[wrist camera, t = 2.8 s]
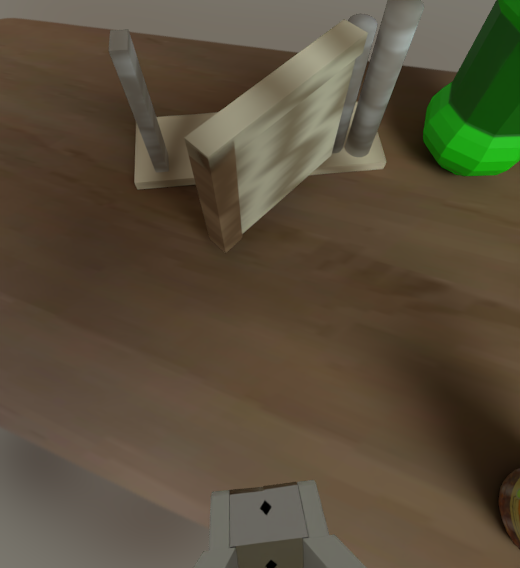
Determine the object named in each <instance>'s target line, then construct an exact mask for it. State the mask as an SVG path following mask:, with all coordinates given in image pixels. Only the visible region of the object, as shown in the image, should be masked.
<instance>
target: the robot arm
mask: <svg viewBox="0 0 520 568" xmlns="http://www.w3.org/2000/svg"><path fill="white" fill-rule="evenodd" d="M194 568H366V567H365V566H364V565H363V564H362V563H361V562H360V561H359V559H358V558H357V557H356V556H355V555H354V554H353V553H352V552H351V551H350V550H349V549H348V548H347V547H346V546H345V545H344V544H343V543H342V542H341V541H340V540H339V539H338V538H337V537H336V536H335V535H329V532H328V528H327V524H326V521H325V517H324V513H323V509H322V505H321V501H320V497H319V494H318V490H317V486H316V483H315V481H314V480H310V481H301V482H290V483H283V484H276V485H268V486H263V487H257V488H246V489H235V490H225V491H216V492H212V495H211V507H210V531H209V551H204V552H203V553H202V555H201V556H200V558H199V559H198V561H197V563H196V564H195V566H194Z"/></svg>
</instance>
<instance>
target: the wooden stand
mask: <svg viewBox="0 0 520 568" xmlns="http://www.w3.org/2000/svg"><path fill="white" fill-rule="evenodd" d="M423 10H424V5H423V2H422V1H421V0H388V1H387V5H386V8H385V12H384V15H383V19H382V22H381V25H380V29H379V32H378V36H377V39H376V43H375V46H374V50H373V53H372V56H371V60H370V63H369V66H368V70H367V73H366V77H365V80H364V83H363V87H362V90H361V94H360V97H359V100H358V102H356V103H355V106H354V110H353V113H352V117H351V120H350V124H349V127H348V131H347V134H346V138H345V141H344V145H343V148H342V150H341V151H340V152H338V153H334V154H333V153H332V154H331V156H330V157H329V158H328V159H327V160H326V161H324V162H323V163H322V164H321V165H320V166H319V167H318V168H317V169H315V170H314V171H313V172H312V173H311V174H310V175H316V174H328V173H340V172H351V171H363V170H375V169H383V168H384V166H385V164H386V159H385V155H384V152H383V148H382V145H381V142H380V138H379V135H378V131H377V130H378V128H379V125H380V122H381V120H382V117H383V115H384V112H385V109H386V107H387V104H388V101H389V99H390V96H391V94H392V91H393V88H394V86H395V83H396V80H397V78H398V75H399V73H400V70H401V67H402V65H403V62H404V60H405V57H406V54H407V52H408V49H409V46H410V44H411V41H412V39H413V36H414V33H415V31H416V28H417V26H418V23H419V20H420V18H421V15H422V12H423ZM109 53H110V56H111V58H112V61H113V63H114V66H115V68H116V71H117V74H118V76H119V79H120V81H121V84H122V87H123V89H124V92H125V94H126V97H127V99H128V102H129V105H130V107H131V110H132V112H133V115H134V117H135V120H136V143H135V177H134V183H135V185H136V187H137V189H150V188H162V187H173V186H185V185H196V183H195V179H194V175H193V171H192V167H191V163H190V159H189V155H188V151H187V147H186V143H185V139H184V137H186V136H187V135H188V134H190V133H191V132H192V131H194V130H195V129H196V128H198V127H199V126H201V125H202V124H203V123H205V122H206V121H207V120H209V119H210V118H211V117H213V116H214V115H215V114H217V113H218V112H217V113H204V114H190V115H177V116H164V117H156V115H155V111H154V108H153V105H152V102H151V99H150V96H149V93H148V90H147V86H146V83H145V80H144V77H143V74H142V71H141V68H140V65H139V61H138V58H137V55H136V52H135V49H134V46H133V43H132V40H131V36H130V33H129V30H128V29H126V30H111V31H110V40H109Z"/></svg>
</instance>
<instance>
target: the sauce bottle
mask: <svg viewBox="0 0 520 568" xmlns="http://www.w3.org/2000/svg"><path fill="white" fill-rule="evenodd" d="M499 509H500V513H501V518H502V521H503V524H504V526H505V529H506V532H507V533H508V534H509V536H510V537H511V539H512V541H513V543H514V544H515V545H516V546H518V548H519V549H520V468H519V469H516V470H514V471H513V472H512V473H510V474H509V475H508V476H507V477H506V478H505V480H504V481H503V484H502V485H501V488H500V493H499Z"/></svg>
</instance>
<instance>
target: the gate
mask: <svg viewBox="0 0 520 568" xmlns="http://www.w3.org/2000/svg"><path fill="white" fill-rule="evenodd" d="M377 25H378V24H377V21H376V20H375V19H374V18H373V17H372V16H370V15H366V14H356V15H353V16H352V17H350V18H349V20H348V21H347V20H345V19H344V20H343V21H341V22H340V23H339V24H337V25H336V26H335V27H333V28H332V29H330V30H329V31H328V32H326V33H325V34H324V35H322V36H321V37H320V38H318V39H317V40H316V41H314V42H313V43H312V44H310V45H309V46H308V47H306V48H305V49H303V50H302V51H301V52H299V53H298V54H297V55H295V56H294V57H293V58H291V59H290V60H288V61H287V62H286V63H284V64H283V65H282V66H280V67H279V68H278V69H276V70H275V71H274V72H272V73H271V74H270V75H268V76H267V77H265V78H264V79H263V80H261V81H260V82H259V83H257V84H256V85H255V86H253V87H252V88H251V89H249V90H248V91H247V92H245V93H244V94H242V95H241V96H240V97H238V98H237V99H236V100H234V101H233V102H232V103H230V104H229V105H228V106H226V107H225V108H224V109H222V110H221V111H219V112H218V113H217V114H215V115H214V116H213V117H211V118H210V119H209V120H207V121H206V122H205V123H203V124H202V125H201V126H199V127H198V128H196V129H195V130H194V131H192V132H191V133H190V134H188V135H187V136H186V137H184V139H185V143H186V147H187V151H188V155H189V159H190V163H191V167H192V171H193V175H194V179H195V183H196V187H197V191H198V195H199V199H200V203H201V207H202V211H203V215H204V219H205V223H206V227H207V231H208V235H209V239H210V240H211V241H212V242H214V243H215V244H216V245H217V246H218V247H219V248H220V249H221V250H223V251H224V252H225V253H226V252H228V251H229V250H230V249H231V248H232V247H233V246H234V245H235V244H237V243H238V242H239V241H240V240H241V239H242V234H243V233H244V232H245V231H246V230H248V229H249V228H250V227H251V226H252V225H253V224H254V223H256V222H257V221H258V220H259V219H260V218H261V217H262V216H263V215H265V214H266V213H267V212H268V211H269V210H270V209H271V208H272V207H274V206H275V205H276V204H277V203H278V202H279V201H280V200H282V199H283V198H284V197H285V196H286V195H287V194H288V193H289V192H291V191H292V190H293V189H294V188H295V187H296V186H297V185H298V184H300V183H301V182H302V181H303V180H304V179H305V178H306V177H308V176H309V175H310V174H311V173H312V172H313V171H314V170H315V169H317V168H318V167H319V166H320V165H321V164H322V163H323V162H324V161H326V160H327V159H328V158H329V157H330V156H331V154H332V153H333V154H334V153H338V152H340V151H341V150H342V148H343V145H344V141H345V138H346V134H347V131H348V127H349V124H350V120H351V117H352V113H353V110H354V106H355V103H356V99H357V96H358V92H359V89H360V85H361V82H362V78H363V75H364V71H365V68H366V64H367V61H368V56H369V54H370V50H371V47H372V43H373V39H374V36H375V33H376V29H377Z"/></svg>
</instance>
